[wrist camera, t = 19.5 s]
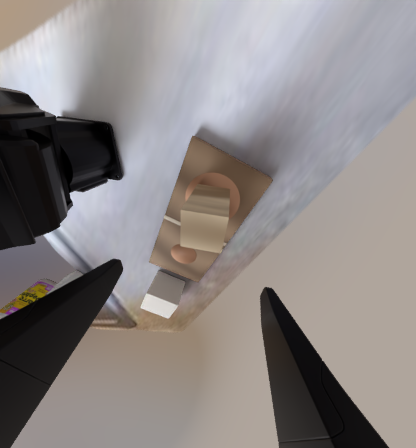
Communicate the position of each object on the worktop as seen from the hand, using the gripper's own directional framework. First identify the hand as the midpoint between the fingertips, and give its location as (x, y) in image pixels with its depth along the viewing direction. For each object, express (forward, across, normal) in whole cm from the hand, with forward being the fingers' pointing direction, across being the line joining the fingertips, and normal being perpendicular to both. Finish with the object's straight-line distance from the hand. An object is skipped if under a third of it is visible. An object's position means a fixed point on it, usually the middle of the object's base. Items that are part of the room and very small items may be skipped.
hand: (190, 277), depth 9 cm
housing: (+13, +7, +21) cm, 26 cm away
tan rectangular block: (+12, 0, 0) cm, 12 cm away
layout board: (+13, +2, +5) cm, 14 cm away
